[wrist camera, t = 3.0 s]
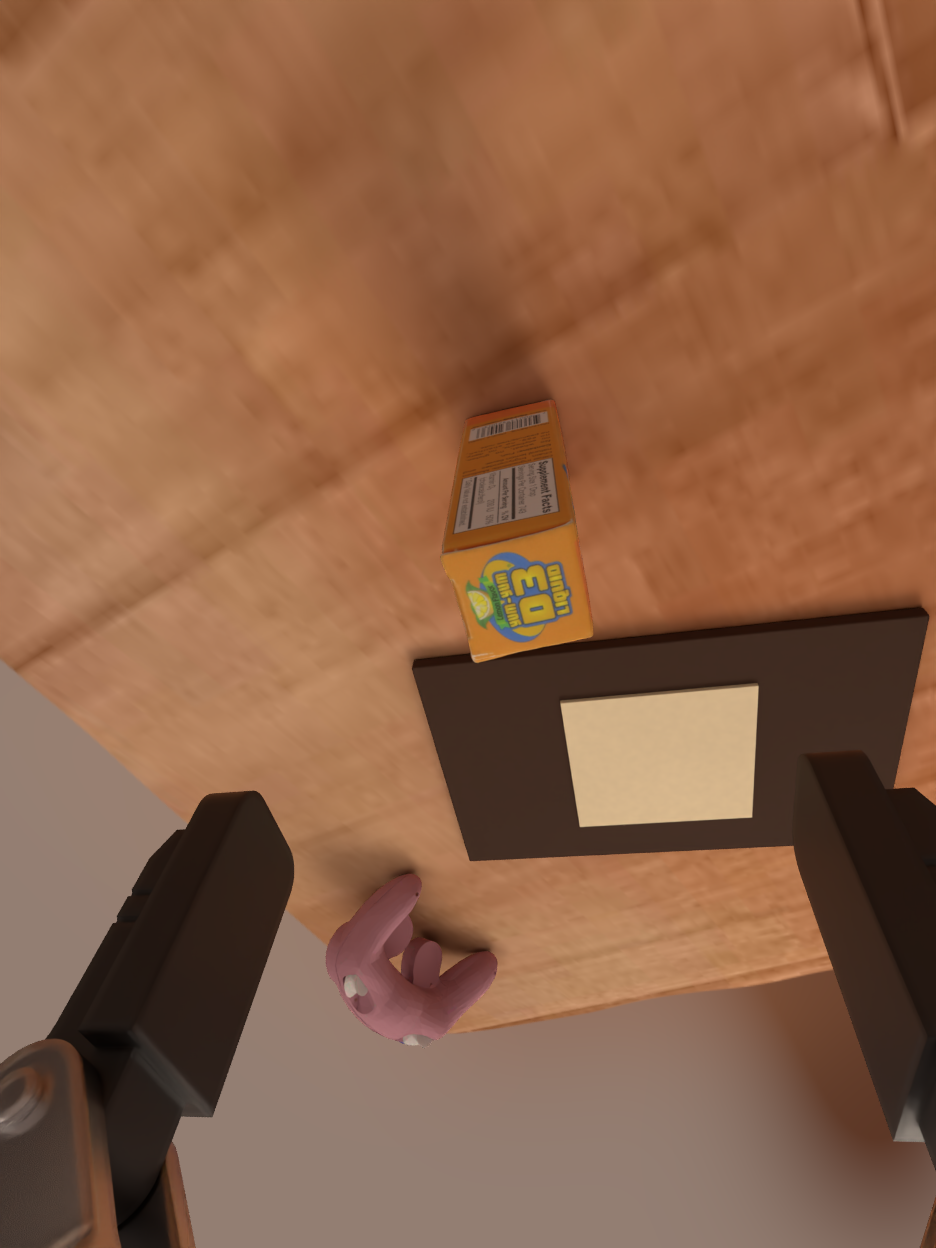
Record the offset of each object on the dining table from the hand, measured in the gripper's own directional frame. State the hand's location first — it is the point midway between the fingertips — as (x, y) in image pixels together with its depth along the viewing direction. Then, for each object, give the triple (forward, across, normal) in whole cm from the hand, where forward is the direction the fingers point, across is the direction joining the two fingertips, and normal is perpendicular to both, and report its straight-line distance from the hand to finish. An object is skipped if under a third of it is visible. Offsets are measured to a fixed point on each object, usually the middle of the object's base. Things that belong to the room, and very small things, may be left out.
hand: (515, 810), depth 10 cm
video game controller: (+16, +11, +28) cm, 34 cm away
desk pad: (+16, -3, +15) cm, 23 cm away
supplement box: (+16, 0, 0) cm, 16 cm away
